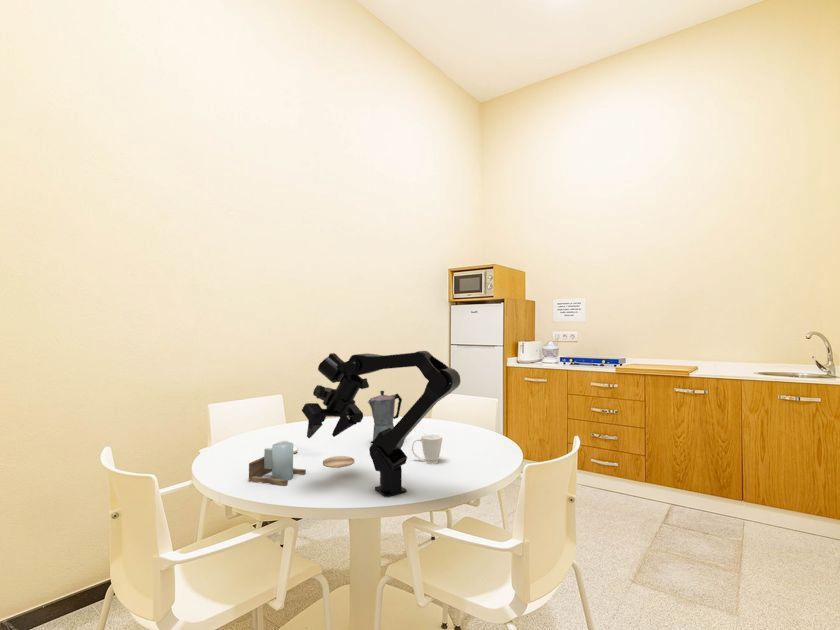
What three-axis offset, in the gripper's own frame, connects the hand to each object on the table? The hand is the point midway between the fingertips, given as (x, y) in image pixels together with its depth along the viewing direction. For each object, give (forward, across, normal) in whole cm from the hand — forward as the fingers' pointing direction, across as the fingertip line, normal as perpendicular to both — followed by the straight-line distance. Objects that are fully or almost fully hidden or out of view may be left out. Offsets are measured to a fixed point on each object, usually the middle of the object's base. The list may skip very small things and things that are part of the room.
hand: (321, 436), depth 122 cm
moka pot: (+11, -40, -6) cm, 42 cm away
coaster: (+12, -14, -1) cm, 19 cm away
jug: (+16, +5, -2) cm, 17 cm away
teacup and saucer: (+24, -8, -18) cm, 32 cm away
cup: (-1, -33, +16) cm, 37 cm away
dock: (+16, +5, -2) cm, 17 cm away
